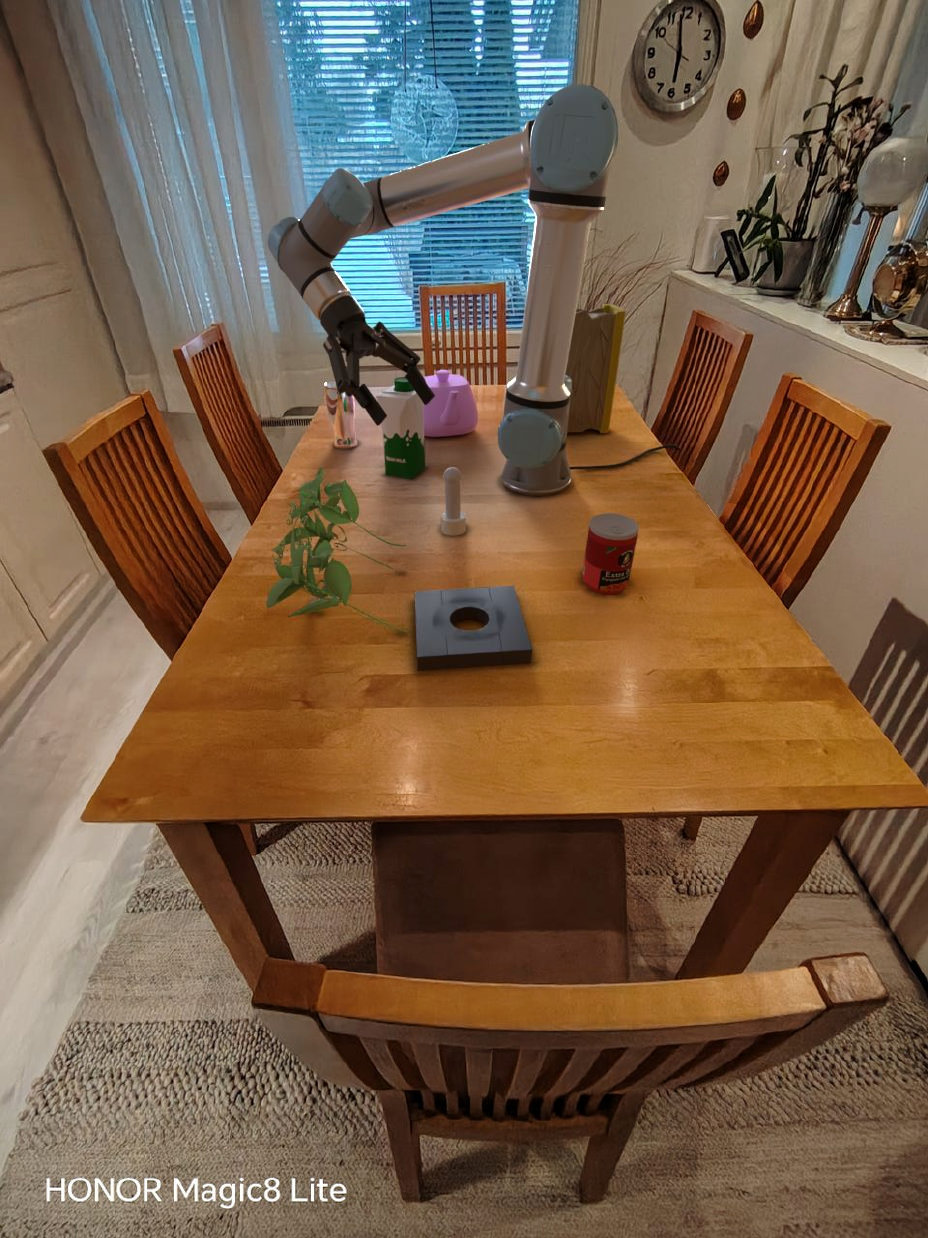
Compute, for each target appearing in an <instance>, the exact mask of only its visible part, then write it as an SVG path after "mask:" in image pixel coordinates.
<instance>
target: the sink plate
mask: <svg viewBox="0 0 928 1238" xmlns="http://www.w3.org/2000/svg"><path fill="white" fill-rule="evenodd" d="M413 595H414V612H415V613H414V615H415V616H414V617H415V641H416V661H417V662H416V663H417V670H418V671H431V670H432V671H433V670H446V669H447V670H448V669H461V668H463V669H464V668H476V667H490V666H493V667H494V666H502V665H506V666H507V665H519V664H531V663H532V659H533V647H532V644H531V640H530V637H529V633H528V629H527V626H526V623H525V618H524V614H523V612H522V608H521V604H520V601H519V598H518V593H517V590H516V588H515V585H500V586H483V587H467V588H466V587H465V588H464V587H463V588H451V589H450V588H449V589H448V588H447V589H446V588H445V589H432V590H428V589H427V590H415V591H414V594H413ZM463 621H476V622H480V623H482V624H484V626H483V627H481V628H478V629H476V630H475V629H474V630H465V629H461V628H458V627H456V626H454V625H456V624H457V623H460V622H463Z"/></svg>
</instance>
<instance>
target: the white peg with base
mask: <svg viewBox="0 0 928 1238" xmlns="http://www.w3.org/2000/svg"><path fill="white" fill-rule="evenodd" d="M461 479H462V473H461V471H460V470H459V469H458V468H456V467H452V466H451V467H448V468H447V469H445V471H444V473H443V480H444V495H445V496H444V497H445V498H444V499H445V500H444V502H445V503H444V504H445V511H444V512H442V513H441V515H440V531H441V533H442V534H444V535H446V536H451V537H452V536H454V537H455V536H460V535H462V534H464V533H465V532H466V530H467V517H466V516H467V514H466V513H465V512H463V511H462V510H461Z"/></svg>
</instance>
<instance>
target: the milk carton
mask: <svg viewBox="0 0 928 1238" xmlns="http://www.w3.org/2000/svg"><path fill="white" fill-rule="evenodd" d="M393 381H394V385H391V386H389V387H388V388H386V389H383V390H381V391H380V393H378V394H377V395H375V397H376V400H377V402H378V403H379V405H380V406H381V407H382V409H383V410H384V412H385V413H386V415H387V417H386V418H385V419H384V420H383V422H382V423H381V430H382V431H381V432H382V442H383V444H382V445H383V452H384V453H383V456H384V457H383V458H384V474H385V476H390V477H395V478H402V479H409V480H414V479H415V478H416V477H417V476H418V475H419V474H420V473H421V472H422V471H424V470H425V469H426V445H425V444H426V443H425V442H426V441H425V436H424V421H423V402H422V400H421V399H420V397H419V396H418V395H417V393H416V392H415V390H414V389H413V387H412V386H411V385H410V383H409V382H408V380H407V379H406V377H405V376H399V377H396V378H394V380H393Z"/></svg>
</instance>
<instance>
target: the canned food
mask: <svg viewBox="0 0 928 1238" xmlns="http://www.w3.org/2000/svg"><path fill="white" fill-rule="evenodd" d="M639 526H640V525H639V523H638V521H636V520H635V519H633V518H631V517H630V516H628V515H625V514H621V513H614V512H605V513H599V514H596V515H594V516H592V517H591V519H590V520H589V523H588V529H587V537H586V544H585V545H586V546H585V553H584V560H583V567H582V576H581V577H582V581H583V584H584V585H585V586H586V587H587V588H588V589H589V590H591V591H592V592H595V593H597V594H601V595H617V594H619V593H622V592H623V591H625V590H626V589H627V587H628V585H629V583H630V579H631V572H632V568H633V563H634V557H635V553H636V547H637V542H638V536H639V530H640V527H639Z"/></svg>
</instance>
